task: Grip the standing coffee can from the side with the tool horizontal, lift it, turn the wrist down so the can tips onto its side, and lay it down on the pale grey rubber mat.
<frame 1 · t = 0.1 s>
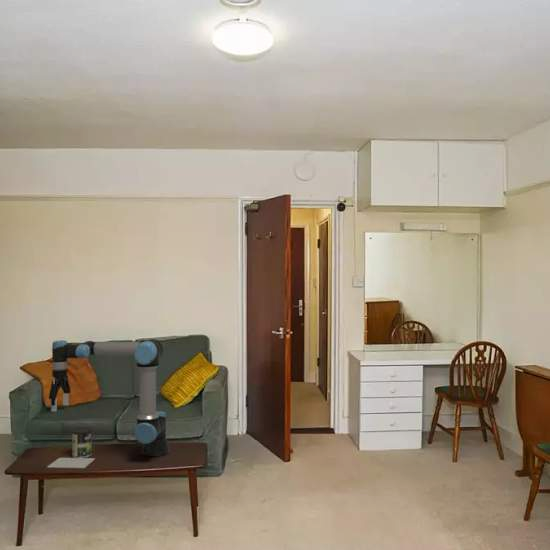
hand: (59, 408, 287), 28 cm above the table, tool pointing down, fingers open, 13 cm apart
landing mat: (71, 463, 280), on the table
coffee can: (81, 455, 293), on the table
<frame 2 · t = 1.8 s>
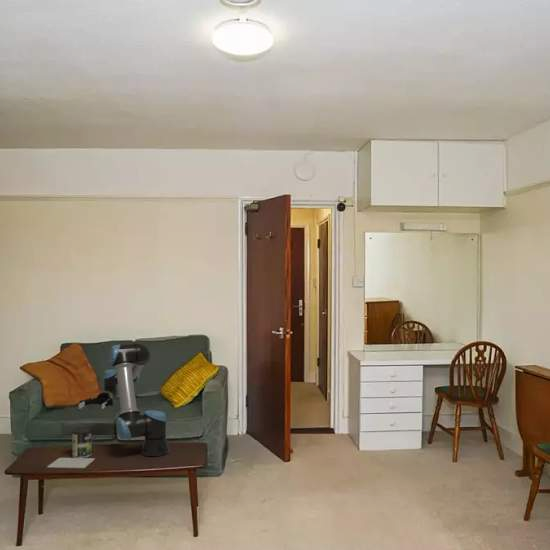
hand: (90, 406, 305), 24 cm above the table, tool horizontal, fingers open, 13 cm apart
nothing on the table moved.
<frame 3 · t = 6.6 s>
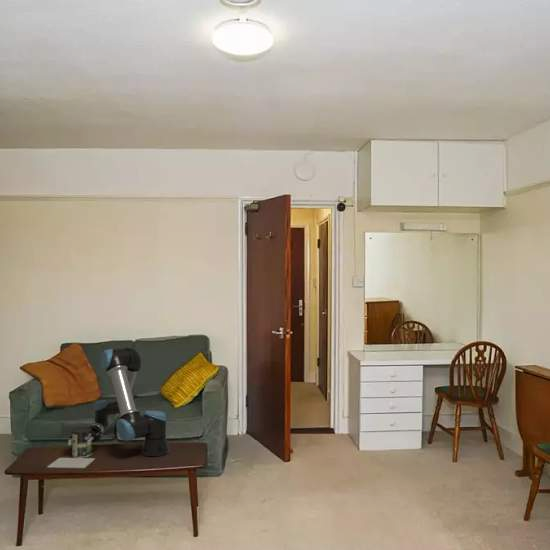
hand: (78, 443, 289), 8 cm above the table, tool horizontal, fingers closed on coffee can, 10 cm apart
coffee can: (81, 455, 293), on the table, touching gripper
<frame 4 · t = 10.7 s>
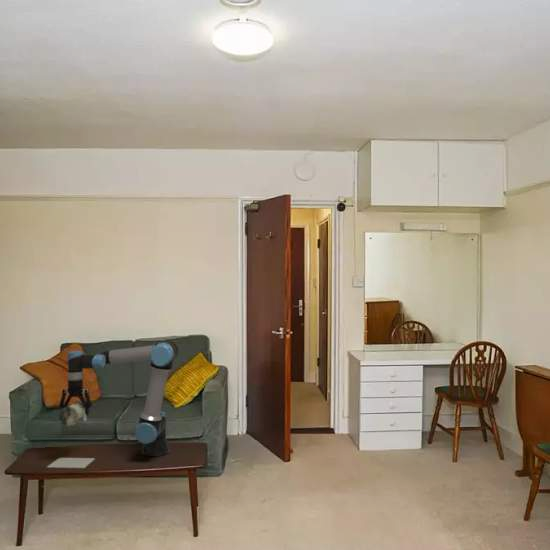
hand: (75, 420, 285), 21 cm above the table, tool pointing down, fingers closed on coffee can, 10 cm apart
coffee can: (68, 416, 277), point 26 cm above the table, touching gripper
when the fingers open (3 cm above the table, at t = 13.8 s): coffee can drops 1 cm, resting on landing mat.
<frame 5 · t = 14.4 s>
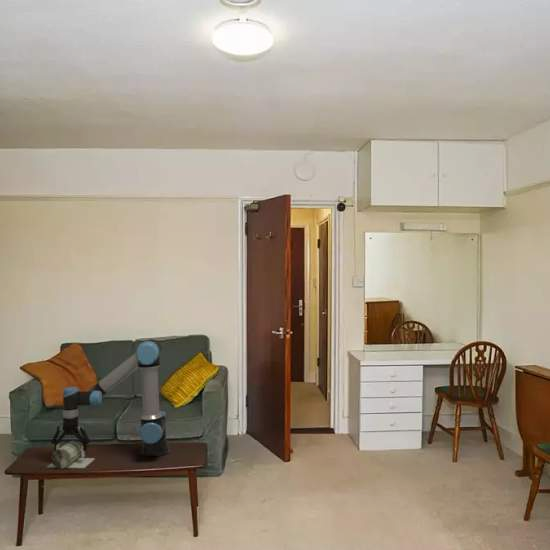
hand: (70, 456, 279), 4 cm above the table, tool pointing down, fingers open, 13 cm apart
coffee can: (60, 459, 271), point 5 cm above the table, touching gripper, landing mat
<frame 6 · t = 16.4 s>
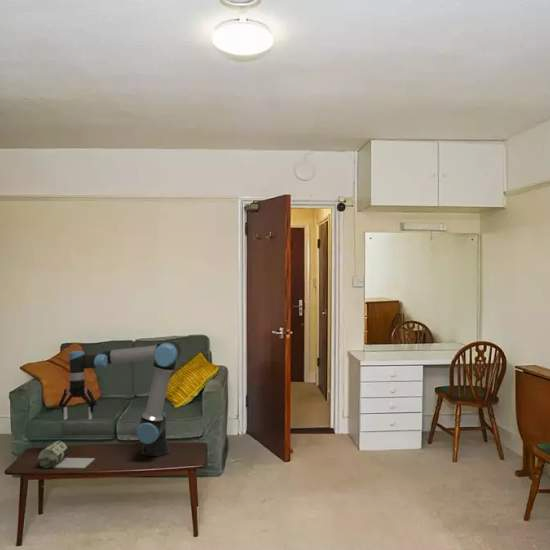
hand: (78, 419, 284), 23 cm above the table, tool pointing down, fingers open, 13 cm apart
coffee can: (47, 458, 271), point 5 cm above the table, touching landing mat
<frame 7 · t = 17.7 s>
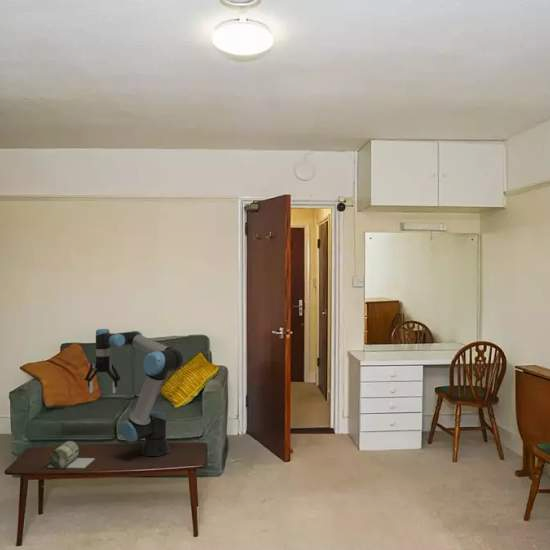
hand: (102, 392, 303), 33 cm above the table, tool pointing down, fingers open, 13 cm apart
coffee can: (58, 459, 271), point 5 cm above the table, touching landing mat
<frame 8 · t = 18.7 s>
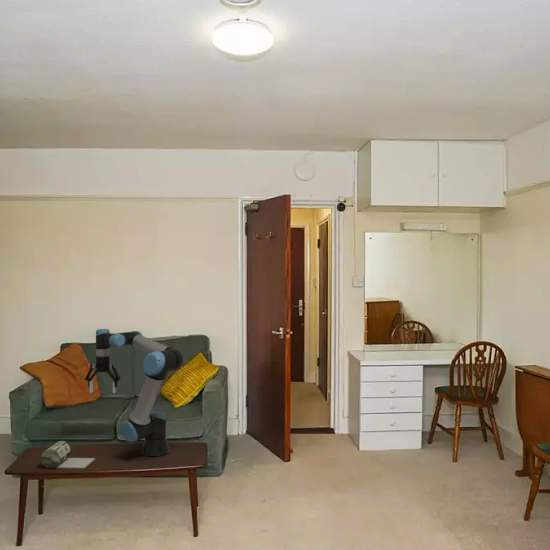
hand: (102, 392, 303), 33 cm above the table, tool pointing down, fingers open, 13 cm apart
coffee can: (50, 458, 271), point 5 cm above the table, touching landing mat
at the end: coffee can tilted 90°; coffee can touching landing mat; coffee can inside the target area (12.8 cm from its centre), point 5.4 cm above the table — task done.
